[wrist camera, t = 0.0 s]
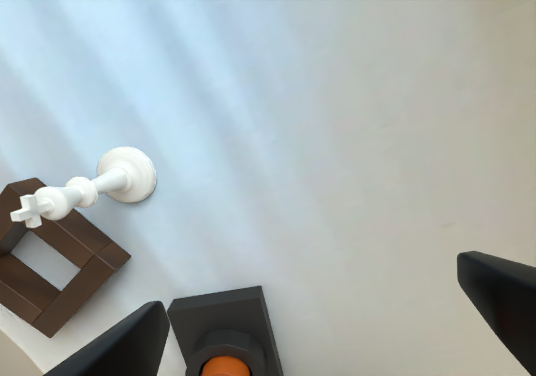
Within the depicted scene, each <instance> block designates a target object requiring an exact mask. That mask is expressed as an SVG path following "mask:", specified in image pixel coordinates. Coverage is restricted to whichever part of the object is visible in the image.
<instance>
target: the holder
mask: <svg viewBox="0 0 536 376" xmlns="http://www.w3.org/2000/svg"><path fill="white" fill-rule="evenodd" d="M43 187H47V186H46V185H45V184H43V183H42V182H41V181H40V180H39V179H37V178H32V179H27V180H23V181H19V182H15V183H11V184H8V185H7V186H6V187H5V189H4V190H3V191H2V193H1V194H0V303H1V304H2V305H3V306H5V307H6V308H8V309H9V310H10V311H12V312H13V313H15V314H16V315H17V316H19V317H20V318H22V319H23V320H24V321H26V322H27V323H29V324H30V325H32V326H33V327H35V328H36V329H37V330H39V331H40V332H42V333H43V334H44V335H46V336H47V337H49V338H52V337H53V336H54V335H55V334H56V333H57V332H58V331H59V330H60V329H61V328H62V327H63V326H64V325H65V324H66V323H67V322H68V321H69V320H70V319H71V318H72V317H73V316H74V315H75V314H76V313H77V312H78V311H79V310H80V309H81V308H82V307H83V306H84V305H85V304H86V303H87V302H88V301H89V300H90V299H91V298H92V296H93V295H94V294H95V293H96V292H97V291H98V290H99V289H100V288H101V287H102V286H103V285H104V284H105V283H106V282H107V281H108V280H109V279H110V278H111V277H112V276H113V275H114V274H115V273H116V272H117V270H118V269H119V268H120V267H121V266H122V265H123V264H124V263H125V262H126V261H127V260H128V259H129V258H130V257H131V255H130V254H128V253H127V252H126V251H125V250H123V249H122V248H121V247H120V246H119V245H117V244H116V243H115V242H114V241H113V242H112V240H111V239H110V238H109V237H108V236H106V235H105V234H104V233H103V232H102V231H100V230H99V229H98V228H97V227H95V226H94V225H93V224H92V223H91V222H89V221H88V220H87V219H86V218H84V217H83V216H82V215H81V214H80V213H78V212H77V211H76V210H75V209H74V208H73V209H72V210H71V211H70V212H69V213H68V214H67V215H66V216H65V217H64V218H62V219H59V220H49V219H46V218H44V217H42V216H41V215H40V218H41V223H42V225H40V226H38V227H35V228H28V227H26V223H25V220H23V221H21V222H20V221H12V219H11V215H10V213H11V212H14V211H17V210H20V209H22V204H21V200H20V197H22V196H25V195H34V194H35V192H36V191H37V190H38V189H40V188H43ZM28 229H30V230H31V231H33V232H34V233H35V234H36V235H38V236H39V237H40V238H41V239H43V240H44V241H45V242H47V243H48V244H49V245H50V246H52V247H53V248H54V249H56V250H57V251H58V252H59V253H61V254H62V255H63V256H65V257H66V258H67V259H68V260H70V261H71V262H72V263H73V264H75V265H76V266H77V267H79V268H80V269H81V270H80V271H79V273H78V274H77V275H76V276H75V277H74V278H73V279H72V280H71V281H70V282H69V283H68V285H67V286H66V287H65V288H64V289H63V290H62V291H59V290H58V289H57V288H55V287H54V286H53V285H51V284H50V283H49V282H47V281H46V280H45V279H43V278H42V277H41V276H39V275H38V274H37V273H35V272H34V271H33V270H31V269H30V268H29V267H27V266H26V265H25V264H23V263H22V262H21V261H19V260H18V259H17V258H16V257H14V256H13V255H12V254H10V252H11V251H12V249H13V248H14V247H15V245H16V244H17V243H18V242H19V240H20V239H21V238H22V237H23V235H24V234H25V233H26V232H27V230H28Z"/></svg>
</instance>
